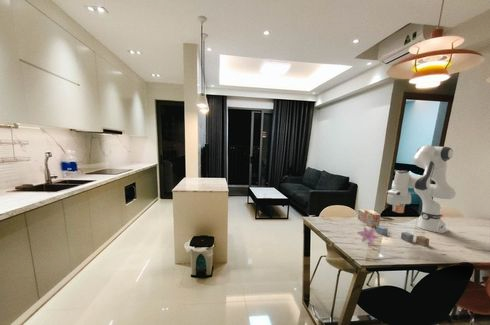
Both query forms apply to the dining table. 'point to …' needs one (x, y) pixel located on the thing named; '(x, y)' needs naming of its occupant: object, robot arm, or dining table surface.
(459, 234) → the dining table surface
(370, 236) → the lily
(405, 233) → the charcoal cube
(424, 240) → the walnut cube
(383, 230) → the slate blue cube
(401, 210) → the terracotta cube
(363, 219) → the stack of blocks
